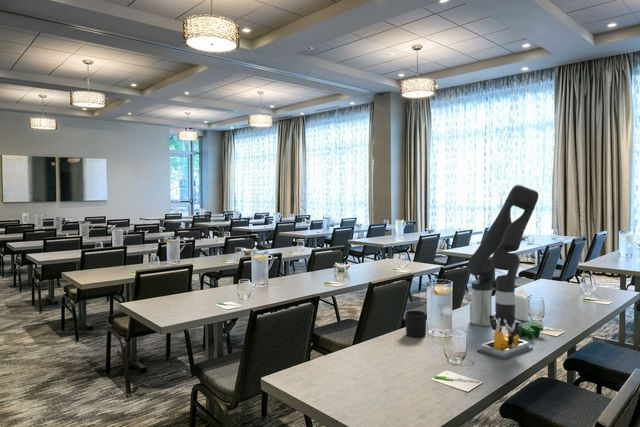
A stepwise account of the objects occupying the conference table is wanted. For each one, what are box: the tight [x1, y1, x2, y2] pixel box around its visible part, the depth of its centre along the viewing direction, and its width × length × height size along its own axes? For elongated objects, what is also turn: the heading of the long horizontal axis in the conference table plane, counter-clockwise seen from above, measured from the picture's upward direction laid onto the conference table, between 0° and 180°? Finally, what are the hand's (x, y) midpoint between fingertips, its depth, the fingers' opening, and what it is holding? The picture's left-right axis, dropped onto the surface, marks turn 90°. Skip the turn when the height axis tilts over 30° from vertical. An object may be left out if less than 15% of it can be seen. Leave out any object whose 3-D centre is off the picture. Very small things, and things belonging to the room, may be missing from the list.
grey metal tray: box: [476, 338, 534, 361], centre depth 186 cm, size 12×20×3 cm, turn 124°
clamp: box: [519, 320, 544, 341], centre depth 203 cm, size 12×6×9 cm, turn 117°
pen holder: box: [404, 310, 427, 339], centre depth 208 cm, size 9×9×10 cm
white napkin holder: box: [515, 293, 530, 322], centre depth 230 cm, size 10×4×12 cm, turn 39°
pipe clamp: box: [493, 326, 520, 349], centre depth 186 cm, size 12×4×6 cm, turn 122°
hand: (505, 342), depth 186 cm, fingers closed on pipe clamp, 4 cm apart
